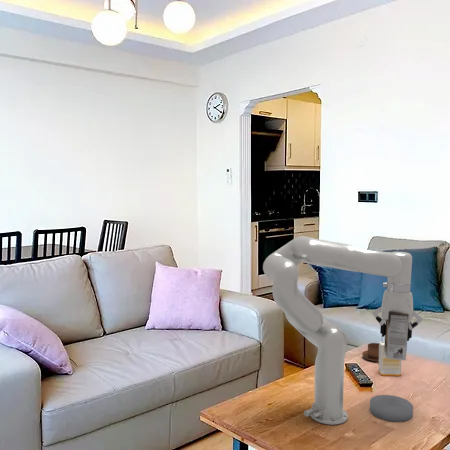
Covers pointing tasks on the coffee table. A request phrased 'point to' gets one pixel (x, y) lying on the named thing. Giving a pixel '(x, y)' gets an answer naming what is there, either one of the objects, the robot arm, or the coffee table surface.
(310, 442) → the coffee table surface
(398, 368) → the supplement box
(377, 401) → the podium
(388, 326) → the coffee box
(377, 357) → the cup and saucer
